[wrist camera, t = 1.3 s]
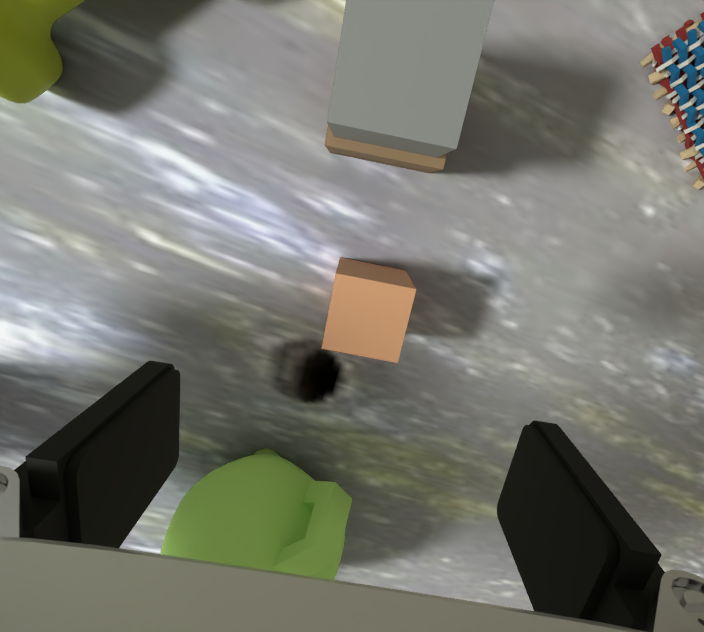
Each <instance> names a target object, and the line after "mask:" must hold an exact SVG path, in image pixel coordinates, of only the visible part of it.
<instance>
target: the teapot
mask: <svg viewBox="0 0 704 632" xmlns="http://www.w3.org/2000/svg"><path fill="white" fill-rule="evenodd" d="M352 500H353V499H352V498H351V497H350V496H349V495H348V494H347V493H346V492H345V491H344V490H343V489H342V488H341V487H340V486H339V485H338V484H337V483H336V482H327V481H315V480H314V479H313V478H311V477H310V476H309V475H308V474H307V473H305V472H304V471H303V470H301V469H300V468H299V467H297V466H296V465H294V464H293V463H291V462H289V461H288V460H286V459H284V458H281V457H280V456H279V455H278V454H277V453H276V452H275V451H274V450H271V449H267V448H264V449H260V450H258V451H256V452H255V453H254V455H251V456H247V457H243V458H241V459H238V460H235V461H232V462H230V463H227V464H225V465H223V466H221V467H219V468H217V469H215V470H213V471H212V472H210V473H208V474H207V475H206V476H204V477H203V478H202V479H201V480H199V481H198V482H197V483H196V484H195V485H194V486H193V487H192V488H191V489H190V490H189V491H188V492H187V494H186V495H185V496H184V498H183V499H182V501H181V502H180V504H179V506H178V508H177V510H176V512H175V514H174V516H173V518H172V520H171V522H170V525H169V527H168V530H167V533H166V536H165V539H164V542H163V546H162V549H161V554H163V555H170V556H177V557H183V558H190V559H197V560H204V561H211V562H218V563H224V564H231V565H238V566H245V567H252V568H259V569H265V570H272V571H279V572H286V573H292V574H299V575H305V576H312V577H318V578H325V579H332V580H334V578H335V575H336V573H337V570H338V567H339V563H340V560H341V556H342V552H343V548H344V542H345V528H346V524H347V520H348V516H349V512H350V508H351V504H352Z"/></svg>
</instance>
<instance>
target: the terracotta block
mask: <svg viewBox="0 0 704 632" xmlns="http://www.w3.org/2000/svg"><path fill="white" fill-rule="evenodd" d="M415 293H416V288H415V286H414V284H413V282H412V281H411V279H410V277H409V276H408V274H407V272H406V270H401V269H396V268H391V267H386V266H381V265H376V264H371V263H366V262H361V261H356V260H351V259H346V258H341V257H340V260H339V264H338V267H337V271H336V275H335V280H334V285H333V291H332V296H331V301H330V306H329V312H328V317H327V322H326V328H325V333H324V338H323V344H322V349H327V350H332V351H337V352H342V353H348V354H353V355H358V356H363V357H369V358H374V359H379V360H384V361H390V362H395V363H398V360H399V356H400V352H401V348H402V344H403V340H404V336H405V332H406V328H407V324H408V320H409V317H410V313H411V309H412V305H413V301H414V297H415Z"/></svg>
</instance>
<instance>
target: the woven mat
mask: <svg viewBox="0 0 704 632" xmlns="http://www.w3.org/2000/svg"><path fill="white" fill-rule="evenodd" d="M700 15H701V17H702V18H701V19H700V20H698V21H697V22H695V23H694V24H693V20H688V21H687V22H685V23H684V27H682V28H680V29H679V30H677V31H676V35H677V36H675V37H674V38H673V39H671V38H670V37H669V35H668V36H666V37H665V38H663V39H662V41H661V43H662V46H661V47H660V45H659V44H657V45H655V46H654V47H652V48H651V50H652V53H650V54H649V55H648V56H647V57H646V58H645V59H644V60H642V61H641V62H640V64H641V66H642V68H644V67H645V66H647V65H649V64H650V63H652V65H653V67H654V66H655V71H654V73H652V74H651V75H649V76H648V77H649V80H650V84H653V85H654V84H655V83H657V82H659V83H660V84H661V85H662V86H663V87H662V88H660V89H659V90H658V91H656V92H655V93H654V94H653V95H654V98H655V100H658V99H660V98H662V97H663V96H665V95H667V94H668V95H667V99H670V100H671V101H669V102H668V103H666V104H665V105H664V107H663V109H662V111H661V112H663V113H665V114H667V115H670V114H671V112H672V111H673V110H675V112H676V115H677V116H676V117H674V118H672V119H671V121H670V123H671V125H672V128H673V129H674V128H676V127H678V126H679V128H678V130H680V129H682V130H683V133H681V134H680V135H678V136H677V139H678V142H679V143H680V142H682V141H684V140H685V139H686V142H685V147H686V150H685V151H683V152H681V153H680V155H681V158H682V159H683V160H685V159H687V158H691V159H693V160H694V162H692V163H691V164H689V165H688V166H687V167H685V168H684V169H685V171H686V172H687V171H689V170H691V169H693V168H695V167H698V169H699V171H700V173H701V175H702V176H699V177H698V178H697V179H696V181H695V182H694V183H693V185H692V186H693V187H695V188H696V189H700V188H701V187H703V186H704V79H703V80H701V78H702V77H703V78H704V36H702V35H703V34H704V12H703V13H702V14H700ZM700 36H702V37H700ZM677 51H678V52H677ZM695 58H696V60H695V65H694V59H695ZM670 75H671V76H670ZM669 76H670V79H669V78H668V77H669ZM695 101H696V103H695ZM702 116H703V118H702V119H701V118H700V117H702ZM695 139H696V141H695V142H694V140H695Z"/></svg>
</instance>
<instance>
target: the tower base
mask: <svg viewBox="0 0 704 632" xmlns="http://www.w3.org/2000/svg"><path fill="white" fill-rule="evenodd" d="M325 146H326V147H327V149H328V150H329V151H330V153H334V154H339V155H344V156H348V157H353V158H358V159H363V160H368V161H372V162H377V163H382V164H387V165H392V166H397V167H401V168H406V169H411V170H416V171H421V172H426V173H432V172H436V171H440V170H443V169H444V164H445V160H446V156H447V153H446V154H444V155H442V156H439V157H437V158H434V157H430V156H425V155H420V154H415V153H410V152H405V151H401V150H396V149H391V148H386V147H381V146H377V145H372V144H367V143H362V142H357V141H353V140H348V139H343V138H338V137H334V136H333V134H332V131H331V129H330V127H329V125H328V128H327V134H326V140H325Z"/></svg>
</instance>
